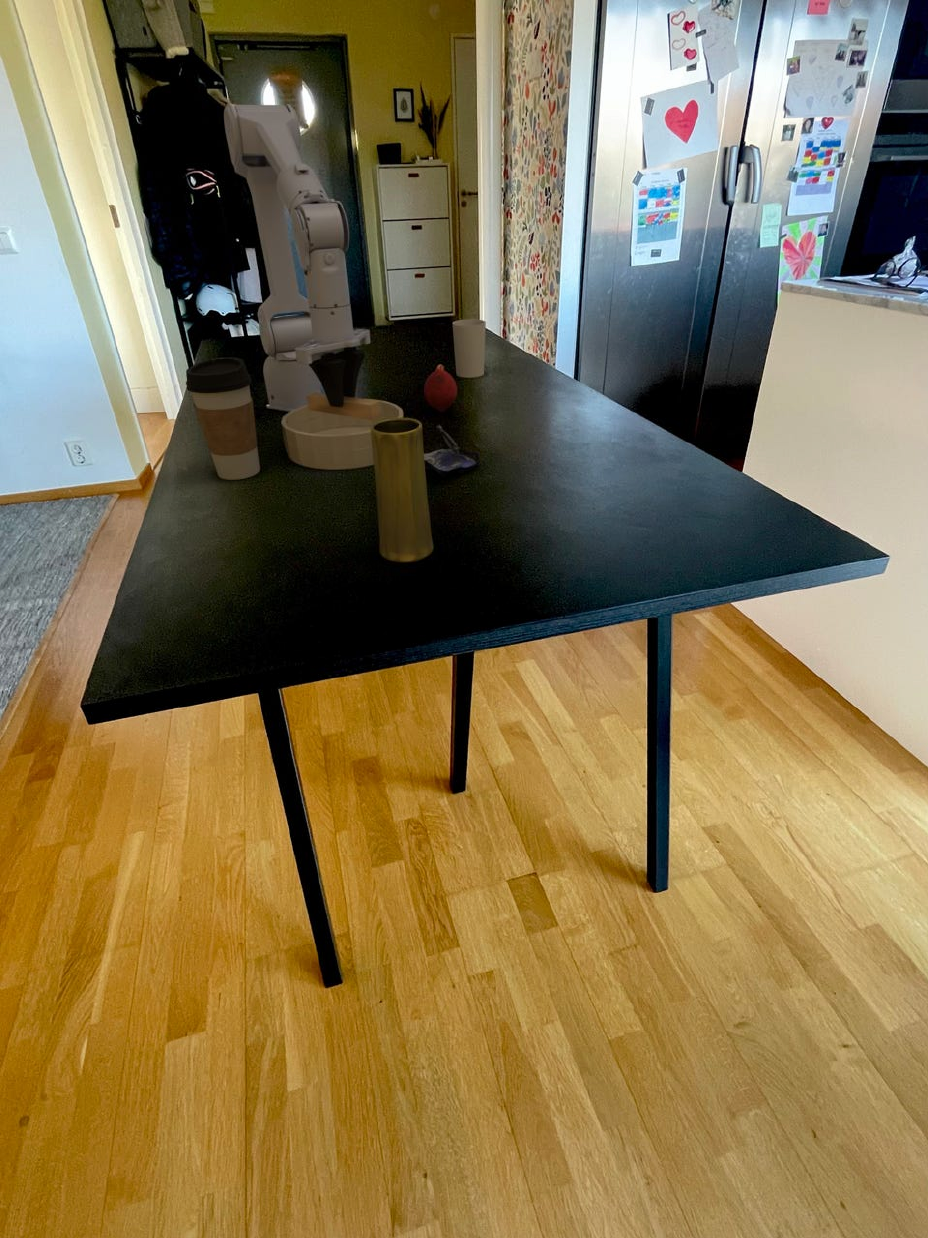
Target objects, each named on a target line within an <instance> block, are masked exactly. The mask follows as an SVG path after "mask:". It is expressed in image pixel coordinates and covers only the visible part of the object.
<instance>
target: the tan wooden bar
mask: <svg viewBox="0 0 928 1238" xmlns="http://www.w3.org/2000/svg"><path fill="white" fill-rule="evenodd" d="M367 399H368V398H360V397H355V398H353V397H346V396H344V403H343V407H333V406H330V404H329V402H328V399H327V396H326V394H325V392H321V393H318V392H315V393H312V394H310V395H307V401H308V408H309V410H312V411H318V412H324V413H331V414H337V415H343V416H349V417H356V418H362V419H368V420H373V419H375V418H377V417H379V416H380V406H379V401H374V400H375V399H374V400H367Z"/></svg>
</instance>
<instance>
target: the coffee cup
mask: <svg viewBox="0 0 928 1238" xmlns="http://www.w3.org/2000/svg"><path fill="white" fill-rule="evenodd" d="M185 374H186V375H185V377H186V381H185V386H186V390H187V391H189V392H190V393H191V396H192V400H193V402H194V403H193V408H194V410H195V413H196V417H197V418H198V422H199V425H200V427H201V430H202V433H203V436H204V439H205V442H206V444H207V447H208V450H209V452H210V455H211V458H212V461H213V464H214V467H215V470H216V473H217V476H218V477H219V478H220V479H222V480H228V481H232V480H233V481H236V480H244V479H248V478H252V477H254V476H256V475H257V474H259V473H260V471H261V465H260V458H259V450H258V440H257V439H258V438H257V430H256V419H255V409H254V400H253V397H252V396H251V389H250V387H251V386H250V385H252V382H253V381H252V379H251V375H250V373H248V369H247V366H246V363H245V361H244V359H242V358H238V357H233V356H232V357H231V356H230V357H229V356H227V357H214V358H210V359H205V360H203V361H200V362H197V363H196V364H194V365H193V364H192V365H191V366H189V367H188V368H187V369H186V370H185Z"/></svg>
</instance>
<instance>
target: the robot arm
mask: <svg viewBox="0 0 928 1238" xmlns="http://www.w3.org/2000/svg"><path fill="white" fill-rule="evenodd" d="M223 121H224V130H225V136H226V141H227V146H228V150H229V155H230V162H231V164H232V166H233V169H234V173H235V174H238V175H239V176H241V177H243V178H245V179H246V182H247V185H248V188H249V190H250V193H251V196H252V203H253V208H254V209H253V210H254V214H255V217H256V218H255V219H256V224H257V230H258V235H259V240H260V245H261V250H262V255H263V260H264V266H265V272H266V277H267V282H268V287H269V292H270V295H269V296H268V297H267V298H266V299H265V300H264V302H263V303H262V304H260V306H259V307H258V310H257V311H258V312H257V318H258V330H259V337H260V341H261V345H262V347H263V350H264V353H265V354H266V355H268V356H267V357H266V359H264V363H263V368H262V369H263V370H262V373H263V378H264V384H265V390H266V395H267V400H268V404H266V405H265V408H266V409H270V410H275V411H276V410H277V411H281V412H287V413H289V412H290V411H292V410H295V409H297V408H300V407H302V406H305V405H308V401H307V395H310V394H312V393H315V392H318V393H322V389H323V392H324V393H325V394H326V396H327V399H328V402H329V404H330V406H333V407H343V403H344V396H346V397H353V398H356V391H357V383H358V378H359V375H360V374H359V373H360V370H361V367H362V364H363V362H364V359H365V357H366V355H365V350H363V349H358V348H357V347H359V346H362V345H369V344H371V331H370V329H364V328H357V329H354V327H353V315H352V307H351V300H350V299H351V298H350V289H349V282H348V273H347V271H348V270H347V262H346V254H345V253H346V252H347V251H348V250H349V245H350V228H349V222H348V218H347V213H346V211H345V209H344V206H343V204H342V202H341V201H339V200H335V199H334V198H329V196H328V195H327V193H326V191H325V188H324V187H323V185H322V183H321V181H320V179H319V177H318V176H317V173H316V171H314V169H313V168H312V167H311V166H309V165H308V164H306V163H304V162H303V161H302V159H301V156H300V153H299V152H300V150H301V145H302V138H301V136H302V135H301V127H300V122H299V117H298V114H297V112H296V111H295V109H294V108H293V106H292V105H291V104H289V103H285V104H233V103H229V102H228V103H227V104H226V107H225V108H224V110H223ZM286 212H287V214H288V216H289V218H290V226H291V233H292V239H293V242H294V245H295V249H296V252H297V257H298V263H299V266H300V269H302V270H303V275H304V276H303V277H304V282H305V288H306V289H305V290H306V296H307V298H306V297H305V296H304V295H302V294H301V293H300V291H299V285H298V280H297V273H296V267H295V262H294V257H293V250H292V244H291V238H290V233H289V227H288V222H287V216H286ZM300 312H301V313H300ZM292 313H296V314H292ZM297 313H299V314H297ZM281 314H289V315H281ZM276 315H280V316H276ZM321 387H322V389H321Z"/></svg>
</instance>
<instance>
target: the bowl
mask: <svg viewBox="0 0 928 1238" xmlns="http://www.w3.org/2000/svg"><path fill="white" fill-rule="evenodd" d="M366 399H367V400H374V401H379V406H380V416H379V417H377V418H375V419H373V420H368V419H362V418H356V417H349V416H343V415H337V414H331V413H324V412H318V411H312V410H309V408H308V405H305V406H302V407H300V408H297V409H295V410H292V411H290V412H287V413H286V414H285V415H283V417H282V420H281V422H280V424H281V430H282V435H283V441H284V447H285V451H286V453H287V457H288V458H289V460H290V461H292V462H293V463H295V464H297V465H299V466H302V467H306V468H311V469H318V470H328V471H329V470H331V471H334V470H335V471H336V470H337V471H339V470H352V469H360V468H366V467H371V466H374V458H373V447H372V438H371V425H372V424H373V423H375V422H377V421H380V420H383V419H388V418H405V417H404V411H403V410H404V409H402V407H400V406H399V405H398V404H395V403H392V402H389V401H386V400H379V399H374V398H373V399H372V398H366Z"/></svg>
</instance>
